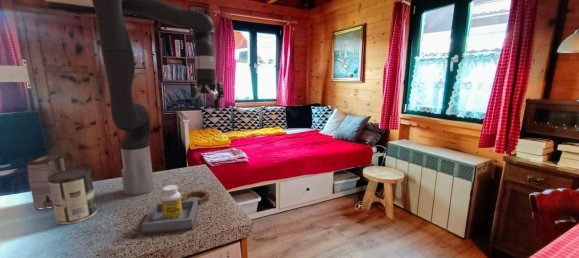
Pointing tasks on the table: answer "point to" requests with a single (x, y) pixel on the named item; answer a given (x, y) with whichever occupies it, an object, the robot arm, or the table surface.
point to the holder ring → (197, 193)
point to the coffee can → (72, 195)
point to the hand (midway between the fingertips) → (207, 108)
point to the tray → (159, 225)
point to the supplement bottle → (171, 203)
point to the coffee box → (43, 178)
